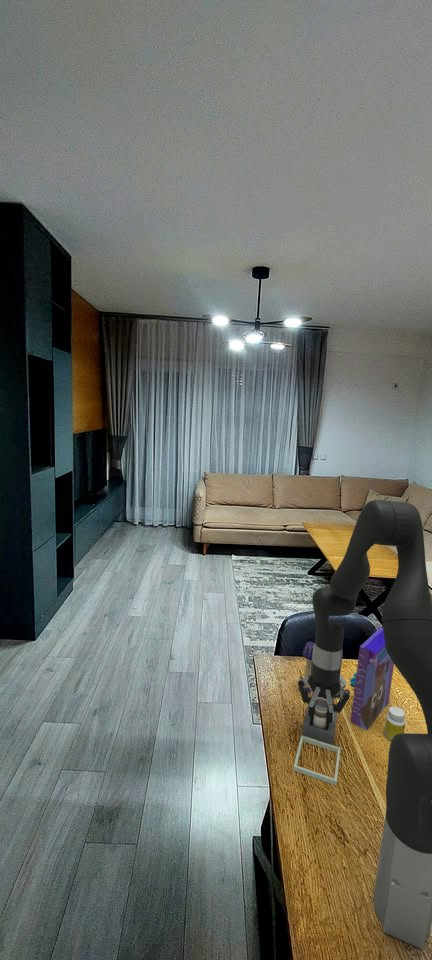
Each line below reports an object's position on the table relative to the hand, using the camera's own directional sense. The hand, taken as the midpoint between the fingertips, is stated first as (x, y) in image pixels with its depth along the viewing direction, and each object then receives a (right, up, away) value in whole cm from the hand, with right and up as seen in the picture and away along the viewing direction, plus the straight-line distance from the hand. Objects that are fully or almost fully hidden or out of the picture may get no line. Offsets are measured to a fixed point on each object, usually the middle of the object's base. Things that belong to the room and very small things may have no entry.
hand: (320, 719), depth 113 cm
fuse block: (+1, -4, +3) cm, 6 cm away
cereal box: (+17, -5, +11) cm, 21 cm away
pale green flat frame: (-3, -6, -9) cm, 11 cm away
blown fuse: (0, -4, +1) cm, 4 cm away
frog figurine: (+8, -3, +18) cm, 20 cm away
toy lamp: (0, -2, +18) cm, 18 cm away
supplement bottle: (+20, -6, +1) cm, 21 cm away
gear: (+19, -3, +24) cm, 31 cm away
